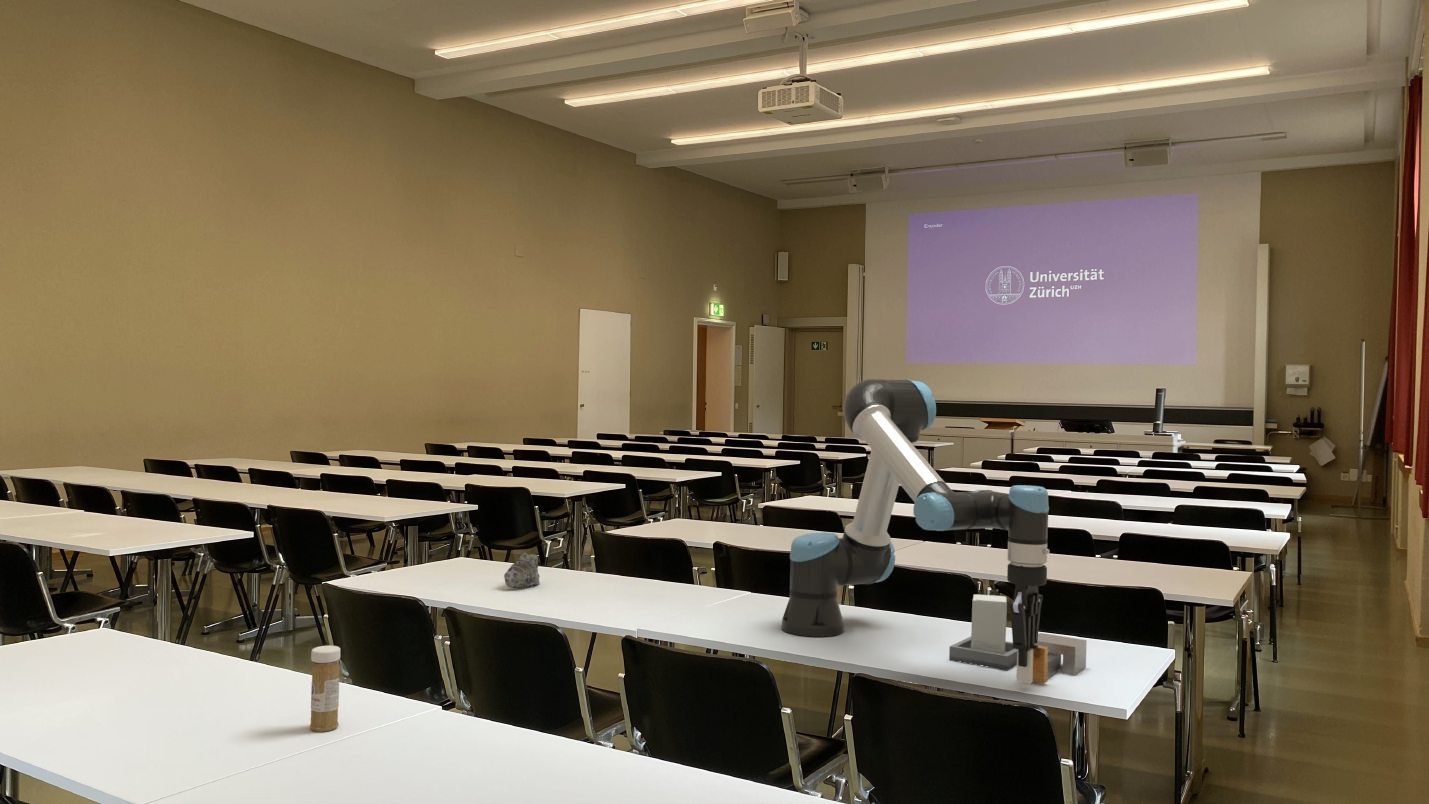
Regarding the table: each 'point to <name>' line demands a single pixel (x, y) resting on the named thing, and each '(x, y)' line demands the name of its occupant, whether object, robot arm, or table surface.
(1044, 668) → the lock pin
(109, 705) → the table surface
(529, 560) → the mineral rock
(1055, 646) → the pin mount
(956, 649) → the cradle
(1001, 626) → the supplement box
